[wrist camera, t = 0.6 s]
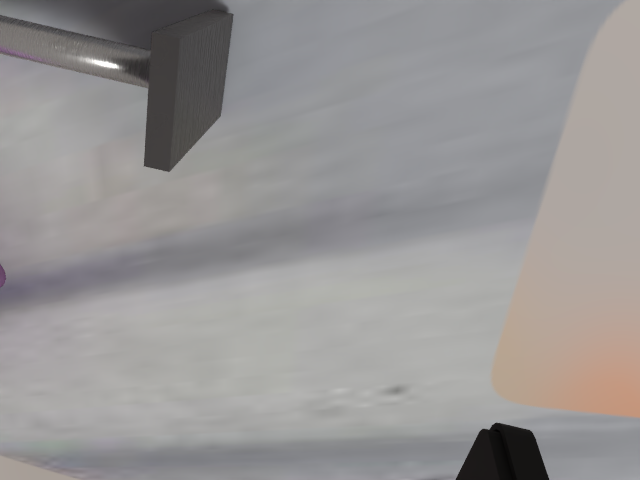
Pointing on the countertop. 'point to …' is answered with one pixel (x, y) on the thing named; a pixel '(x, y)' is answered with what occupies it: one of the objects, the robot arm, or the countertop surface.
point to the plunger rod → (145, 73)
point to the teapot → (2, 276)
